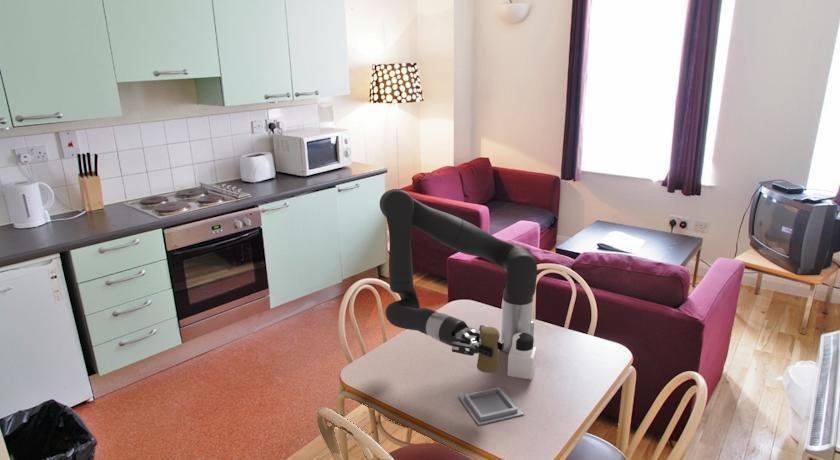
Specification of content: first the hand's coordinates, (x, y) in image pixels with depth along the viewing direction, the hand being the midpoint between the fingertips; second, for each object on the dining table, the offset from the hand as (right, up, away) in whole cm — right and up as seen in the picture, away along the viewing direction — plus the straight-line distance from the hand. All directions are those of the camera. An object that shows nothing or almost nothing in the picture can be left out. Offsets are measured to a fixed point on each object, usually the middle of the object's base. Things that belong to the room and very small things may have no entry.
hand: (497, 350), depth 142 cm
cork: (-2, -5, +4) cm, 7 cm away
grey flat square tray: (-1, -16, +7) cm, 18 cm away
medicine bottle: (+10, -12, +22) cm, 27 cm away
